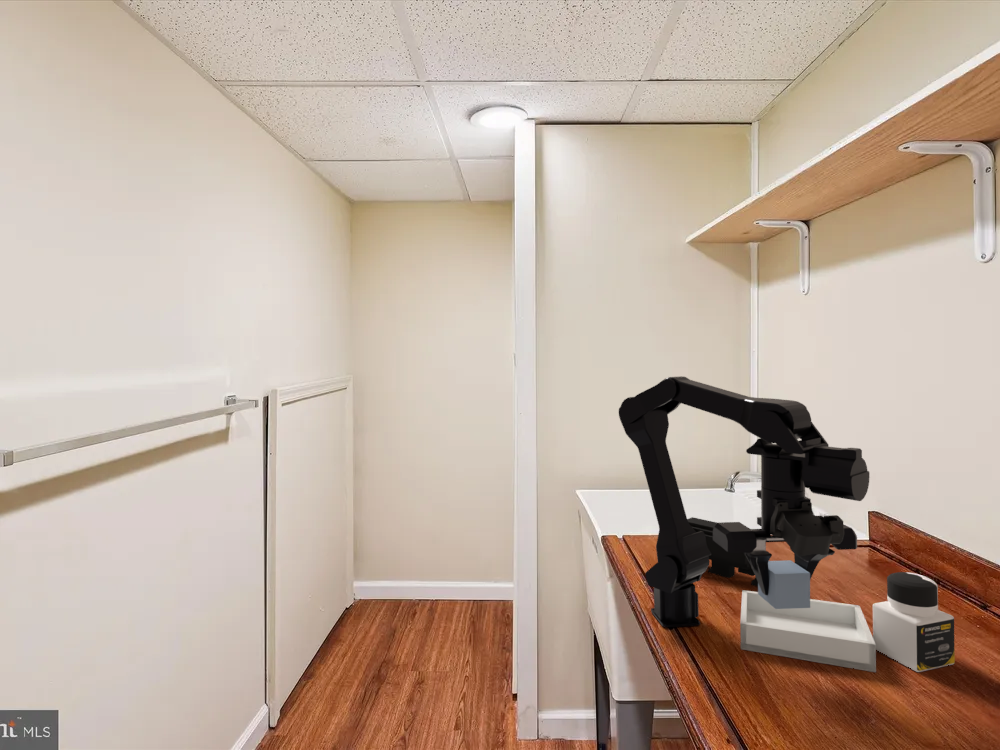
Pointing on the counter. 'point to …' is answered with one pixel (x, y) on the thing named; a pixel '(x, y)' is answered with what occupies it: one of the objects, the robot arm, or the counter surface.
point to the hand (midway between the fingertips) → (783, 593)
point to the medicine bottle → (913, 624)
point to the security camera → (722, 553)
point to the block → (787, 585)
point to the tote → (808, 632)
